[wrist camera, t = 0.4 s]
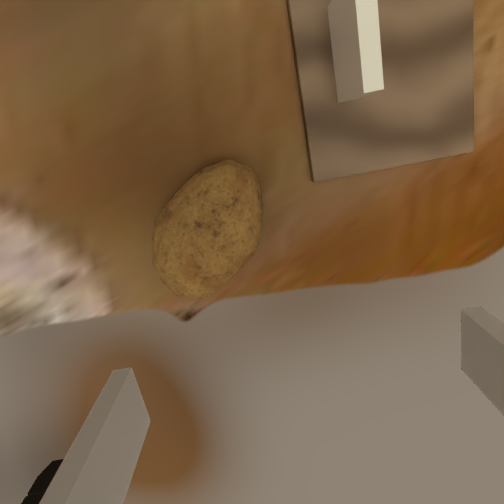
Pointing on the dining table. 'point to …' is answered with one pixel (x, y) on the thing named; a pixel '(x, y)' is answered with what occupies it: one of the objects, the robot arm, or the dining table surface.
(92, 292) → the dining table surface
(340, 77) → the tile
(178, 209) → the potato
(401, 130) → the board
